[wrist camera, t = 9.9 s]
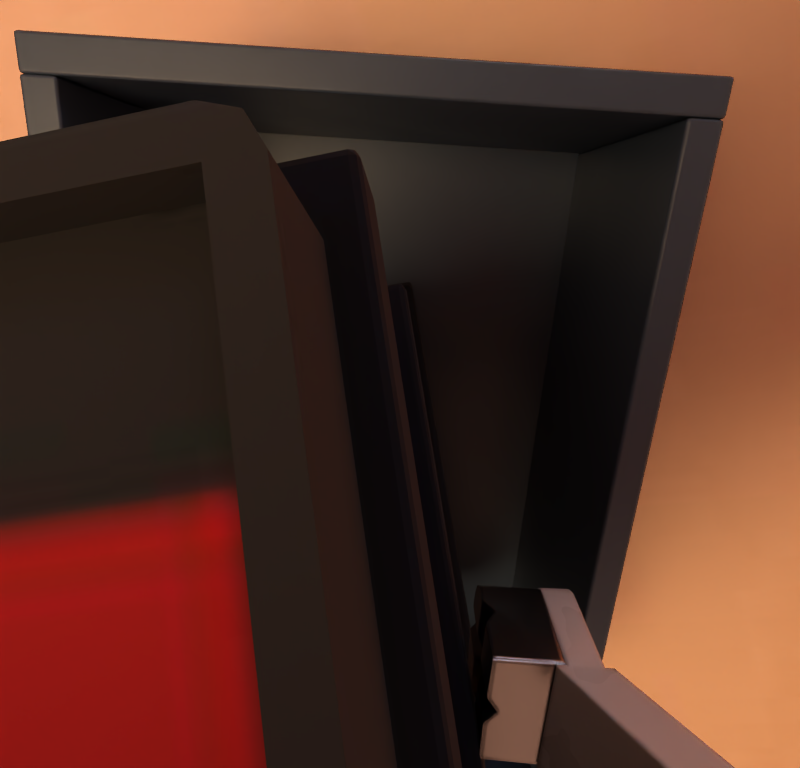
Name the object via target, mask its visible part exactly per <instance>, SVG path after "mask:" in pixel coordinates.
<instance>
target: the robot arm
mask: <svg viewBox="0 0 800 768" xmlns="http://www.w3.org/2000/svg"><path fill="white" fill-rule="evenodd" d="M473 607H474V614H475V622H476V623H475V624H474V625H473V626H472V627H471V628H470V637H469V652H468V664H469V670H470V676H471V682H472V689H473V695H474V696H475V697H476V700H475V711H476V719H477V727H478V735H479V754H480V757H481V759H488V760H498V761H508V762H518V763H528V764H537V768H734V767H733V766H732V765H731V764H730V763H728V762H727V761H726V760H725V759H723V758H722V757H721V756H720V755H719V754H717V753H716V752H715V751H714V750H713V749H711V748H710V747H709V746H708V745H706V744H705V743H704V742H703V741H702V740H700V739H699V738H698V737H697V736H696V735H694V734H693V733H692V732H691V731H690V730H688V729H687V728H686V727H685V726H683V725H682V724H681V723H680V722H679V721H677V720H676V719H675V718H674V717H673V716H671V715H670V714H669V713H668V712H666V711H665V710H664V709H663V708H662V707H660V706H659V705H658V704H657V703H656V702H654V701H653V700H652V699H651V698H650V697H648V696H647V695H646V694H645V693H643V692H642V691H641V690H640V689H639V688H637V687H636V686H635V685H634V684H633V683H631V682H630V681H629V680H628V679H627V678H625V677H624V676H623V675H622V674H620V673H619V672H618V671H617V670H616V669H611V668H605V667H604V665H603V662H602V660H601V657H600V655H599V653H598V650H597V648H596V646H595V643H594V641H593V639H592V636H591V634H590V632H589V629H588V627H587V625H586V622H585V620H584V617H583V615H582V613H581V610H580V608H579V606H578V603H577V601H576V599H575V596H574V594H573V593H572V592H571V591H570V590H569V589H554V588H538V589H532V588H516V587H500V586H484V585H477V587H476V591H475V597H474V604H473Z"/></svg>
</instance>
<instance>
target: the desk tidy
mask: <svg viewBox="0 0 800 768" xmlns="http://www.w3.org/2000/svg"><path fill="white" fill-rule="evenodd" d="M14 36H15V44H16V51H17V58H18V65H19V70H20V72H21V73H23V74H22V75H21V76H20V79H21V86H22V94H23V101H24V108H25V115H26V123H27V130H28V136H29V135H34V134H38V133H43V132H48V131H52V130H57V129H62V128H66V127H71V126H75V125H80V124H85V123H89V122H94V121H99V120H103V119H108V118H113V117H117V116H122V115H127V114H131V113H136V112H141V111H145V110H150V109H155V108H159V107H164V106H169V105H173V104H178V103H183V102H187V101H192V100H198V101H204V102H210V103H216V104H222V105H228V106H233V107H239V108H243V110H244V111H245V113H246V115H247V116H248V118H249V119H250V121H251V123H252V124H253V126H254V127H255V129H256V131H257V132H258V134H259V136H260V137H261V139H262V140H263V142H264V144H265V145H266V147H267V148H268V150H269V152H270V153H271V155H272V157H273V158H274V160H275V162H276V163H281V162H286V161H291V160H296V159H301V158H306V157H311V156H316V155H321V154H325V153H330V152H335V151H340V150H345V149H351V150H355V151H356V152H357V153H358V155H359V156H360V158H361V160H362V163H363V167H364V170H365V173H366V176H367V179H368V182H369V185H370V189H371V192H372V195H373V198H374V203H375V209H376V216H377V222H378V228H379V235H380V241H381V248H382V254H383V261H384V267H385V274H386V280H387V285H393V284H398V283H399V284H400V283H405V282H409V283H411V285H412V289H413V295H414V301H415V306H416V312H417V318H418V324H419V330H420V336H421V341H422V347H423V353H424V359H425V365H426V370H427V376H428V382H429V388H430V394H431V399H432V405H433V411H434V417H435V423H436V429H437V434H438V440H439V446H440V452H441V458H442V463H443V469H444V475H445V481H446V487H447V493H448V498H449V504H450V510H451V516H452V522H453V527H454V533H455V539H456V545H457V551H458V556H459V562H460V568H461V574H462V580H463V586H464V591H465V597H466V603H467V609H468V615H469V620H470V626H471V627H472V626H473V625H474V624H475V623H476V622H475V614H474V607H473V604H474V597H475V591H476V587H477V585H484V586H500V587H516V588H532V589H538V588H554V589H569V590H570V591H571V592H572V593H573V594H574V596H575V599H576V601H577V603H578V606H579V608H580V610H581V613H582V615H583V617H584V620H585V622H586V625H587V627H588V629H589V632H590V634H591V636H592V639H593V641H594V643H595V646H596V648H597V650H598V653H599V655H600V657H601V660H602V659H603V654H604V650H605V645H606V641H607V637H608V632H609V628H610V623H611V619H612V614H613V610H614V606H615V601H616V597H617V592H618V588H619V583H620V579H621V575H622V570H623V566H624V561H625V557H626V552H627V548H628V543H629V539H630V535H631V530H632V526H633V521H634V517H635V512H636V508H637V504H638V499H639V495H640V490H641V486H642V481H643V477H644V473H645V468H646V464H647V459H648V455H649V450H650V446H651V441H652V437H653V433H654V428H655V424H656V419H657V415H658V410H659V406H660V402H661V397H662V393H663V388H664V384H665V379H666V375H667V371H668V366H669V362H670V357H671V353H672V348H673V344H674V340H675V335H676V331H677V326H678V322H679V317H680V313H681V308H682V304H683V300H684V295H685V291H686V286H687V282H688V277H689V273H690V269H691V264H692V260H693V255H694V251H695V246H696V242H697V238H698V233H699V229H700V224H701V220H702V215H703V211H704V206H705V202H706V198H707V193H708V189H709V184H710V180H711V175H712V171H713V167H714V162H715V158H716V153H717V149H718V144H719V140H720V136H721V131H722V127H723V121H721V120H720V119H723V118H724V117H725V115H726V111H727V107H728V103H729V98H730V94H731V89H732V85H733V80H734V79H733V77H730V76H715V75H699V74H684V73H669V72H653V71H638V70H623V69H607V68H592V67H576V66H561V65H546V64H530V63H515V62H500V61H484V60H469V59H453V58H438V57H423V56H407V55H392V54H377V53H361V52H346V51H331V50H315V49H300V48H284V47H269V46H254V45H238V44H223V43H208V42H192V41H177V40H161V39H146V38H131V37H115V36H100V35H85V34H69V33H54V32H39V31H23V30H16V31H14ZM484 761H485V767H486V768H537V764H528V763H518V762H508V761H498V760H488V759H484Z"/></svg>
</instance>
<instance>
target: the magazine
mask: <svg viewBox="0 0 800 768" xmlns="http://www.w3.org/2000/svg"><path fill="white" fill-rule="evenodd" d="M470 628H471V626H470V620H469V615H468V609H467V603H466V597H465V591H464V586H463V580H462V574H461V568H460V562H459V556H458V551H457V545H456V539H455V533H454V527H453V522H452V516H451V510H450V504H449V498H448V493H447V487H446V481H445V475H444V469H443V463H442V458H441V452H440V446H439V440H438V434H437V429H436V423H435V417H434V411H433V405H432V399H431V394H430V388H429V382H428V376H427V370H426V365H425V359H424V353H423V347H422V341H421V336H420V330H419V324H418V318H417V312H416V306H415V301H414V295H413V289H412V285H411V283H409V282H405V283H400V284H399V283H398V284H393V285H387V280H386V274H385V267H384V261H383V254H382V248H381V241H380V235H379V228H378V222H377V216H376V209H375V203H374V198H373V195H372V192H371V189H370V185H369V182H368V179H367V176H366V173H365V170H364V167H363V163H362V160H361V158H360V156H359V155H358V153H357V152H356V151H355V150H351V149H345V150H340V151H335V152H330V153H325V154H321V155H316V156H311V157H306V158H301V159H296V160H291V161H286V162H281V163H276V162H275V160H274V158H273V157H272V155H271V153H270V152H269V150H268V148H267V147H266V145H265V144H264V142H263V140H262V139H261V137H260V136H259V134H258V132H257V131H256V129H255V127H254V126H253V124H252V123H251V121H250V119H249V118H248V116H247V115H246V113H245V111H244V110H243V108H239V107H233V106H228V105H222V104H216V103H210V102H204V101H198V100H192V101H187V102H183V103H178V104H173V105H169V106H164V107H159V108H155V109H150V110H145V111H141V112H136V113H131V114H127V115H122V116H117V117H113V118H108V119H103V120H99V121H94V122H89V123H85V124H80V125H75V126H71V127H66V128H62V129H57V130H52V131H48V132H43V133H38V134H34V135H29V136H24V137H20V138H15V139H10V140H6V141H1V142H0V768H486V767H485V761H484V759H481V757H480V754H479V735H478V727H477V719H476V711H475V700H476V697H475V696H474V695H473V689H472V682H471V676H470V670H469V664H468V652H469V637H470Z"/></svg>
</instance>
